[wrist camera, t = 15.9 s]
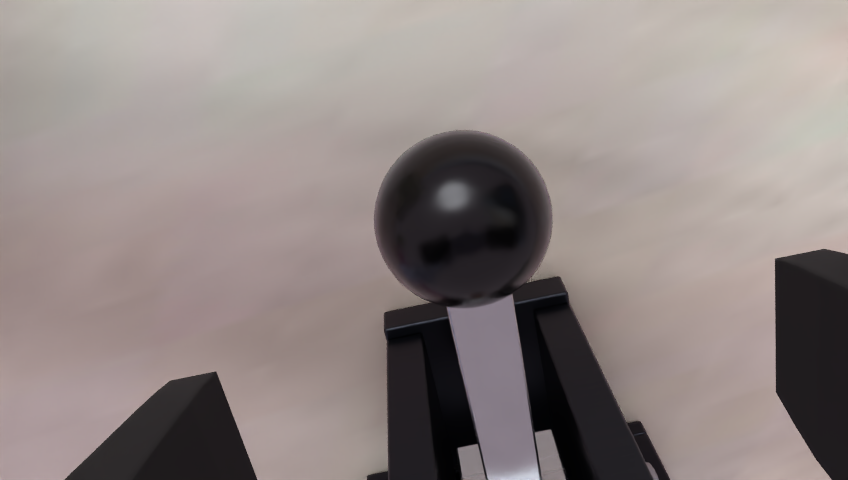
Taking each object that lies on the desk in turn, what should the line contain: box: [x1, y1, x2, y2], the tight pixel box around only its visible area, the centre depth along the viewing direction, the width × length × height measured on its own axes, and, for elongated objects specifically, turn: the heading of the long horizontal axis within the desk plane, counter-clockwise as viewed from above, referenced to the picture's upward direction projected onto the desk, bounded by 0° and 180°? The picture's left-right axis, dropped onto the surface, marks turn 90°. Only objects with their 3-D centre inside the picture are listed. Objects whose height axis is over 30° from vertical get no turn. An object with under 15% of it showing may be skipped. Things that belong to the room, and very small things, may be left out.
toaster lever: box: [374, 130, 568, 480], centre depth 14 cm, size 11×3×3 cm, turn 12°
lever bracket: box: [384, 277, 659, 480], centre depth 18 cm, size 5×6×8 cm
